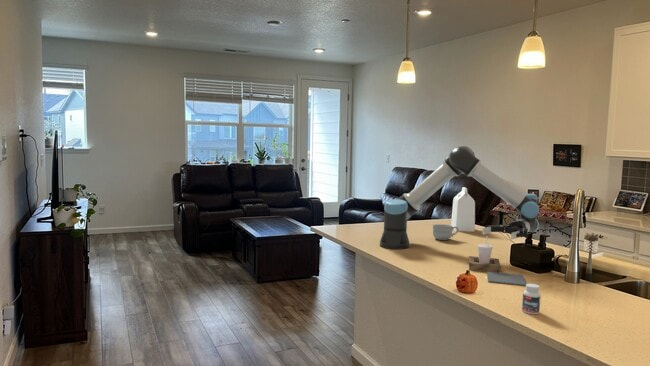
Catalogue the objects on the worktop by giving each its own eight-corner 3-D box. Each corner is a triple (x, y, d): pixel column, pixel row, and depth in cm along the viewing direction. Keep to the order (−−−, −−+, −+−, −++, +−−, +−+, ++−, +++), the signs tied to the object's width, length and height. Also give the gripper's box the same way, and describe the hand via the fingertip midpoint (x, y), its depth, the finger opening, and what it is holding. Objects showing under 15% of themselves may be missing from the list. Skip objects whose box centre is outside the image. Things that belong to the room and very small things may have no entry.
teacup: (430, 240, 261) (431, 225, 260) (433, 236, 271) (434, 222, 270) (456, 242, 256) (457, 228, 255) (458, 239, 266) (459, 224, 265)
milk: (474, 231, 288) (477, 189, 286) (455, 231, 289) (457, 188, 286) (469, 227, 300) (471, 186, 298) (450, 227, 301) (452, 186, 298)
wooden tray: (468, 269, 204) (469, 262, 203) (468, 262, 215) (469, 256, 215) (499, 272, 200) (500, 265, 200) (498, 265, 212) (498, 258, 212)
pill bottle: (521, 313, 154) (523, 286, 153) (521, 307, 159) (523, 282, 158) (539, 315, 152) (541, 288, 151) (539, 310, 157) (541, 284, 156)
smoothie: (489, 270, 203) (491, 238, 202) (474, 267, 207) (476, 236, 205) (493, 267, 209) (495, 235, 207) (478, 264, 212) (480, 233, 211)
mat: (488, 282, 186) (488, 280, 186) (486, 272, 200) (487, 271, 200) (526, 286, 182) (526, 284, 182) (522, 276, 196) (522, 274, 196)
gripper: (544, 239, 219) (524, 246, 204) (493, 231, 237) (471, 237, 222) (545, 223, 218) (525, 229, 204) (494, 216, 236) (472, 221, 222)
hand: (497, 233), depth 213 cm, fingers open, 13 cm apart
